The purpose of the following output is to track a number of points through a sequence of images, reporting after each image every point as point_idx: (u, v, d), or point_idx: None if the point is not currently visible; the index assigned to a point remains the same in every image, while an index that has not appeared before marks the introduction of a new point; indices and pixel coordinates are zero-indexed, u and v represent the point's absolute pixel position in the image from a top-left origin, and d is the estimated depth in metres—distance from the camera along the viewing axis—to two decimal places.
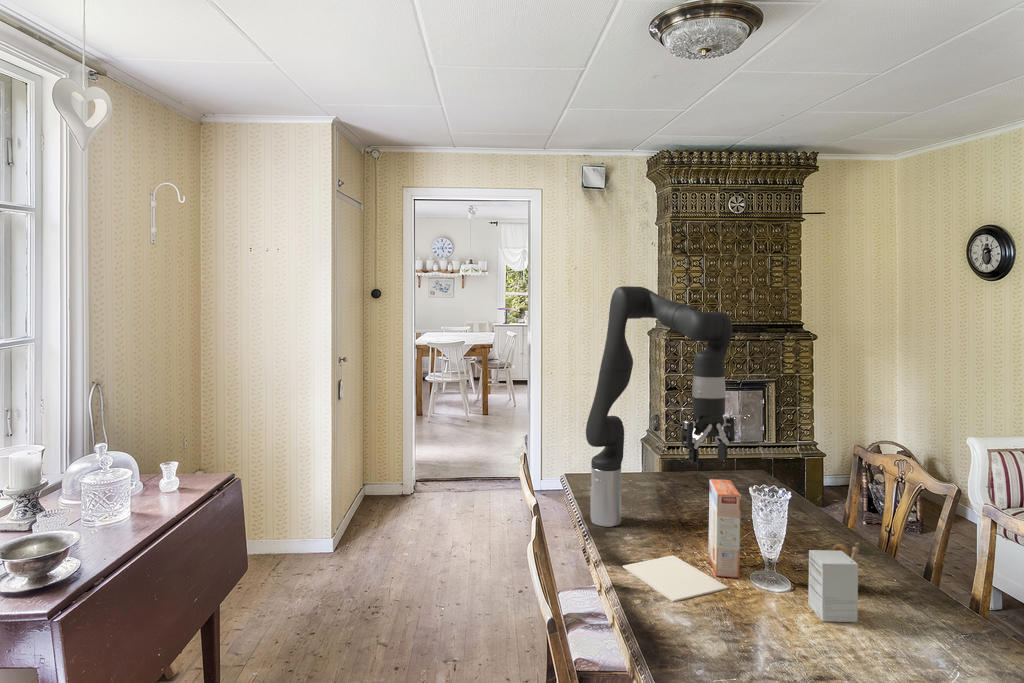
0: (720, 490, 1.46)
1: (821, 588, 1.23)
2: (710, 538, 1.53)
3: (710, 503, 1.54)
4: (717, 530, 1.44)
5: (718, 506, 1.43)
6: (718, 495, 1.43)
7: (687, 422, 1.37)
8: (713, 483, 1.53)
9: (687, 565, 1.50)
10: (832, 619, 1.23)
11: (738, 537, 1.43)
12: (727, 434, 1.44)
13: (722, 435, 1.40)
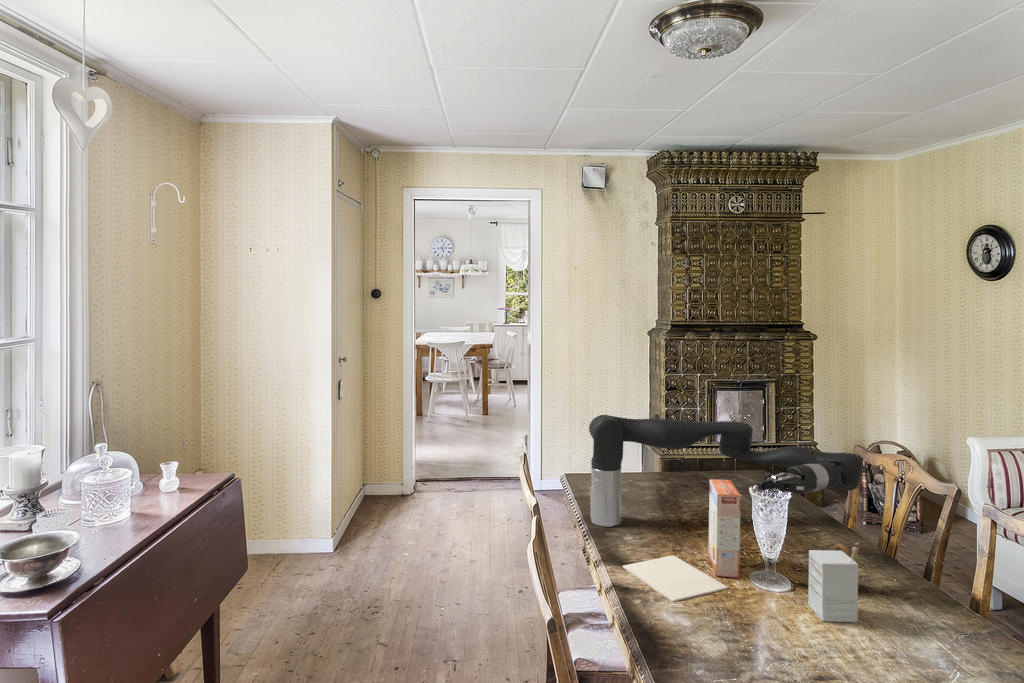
0: (721, 490, 1.46)
1: (821, 588, 1.23)
2: (710, 538, 1.53)
3: (710, 503, 1.54)
4: (717, 530, 1.44)
5: (718, 506, 1.43)
6: (718, 495, 1.43)
7: (803, 489, 1.52)
8: (713, 483, 1.53)
9: (687, 565, 1.50)
10: (832, 619, 1.23)
11: (738, 537, 1.43)
12: None
13: None
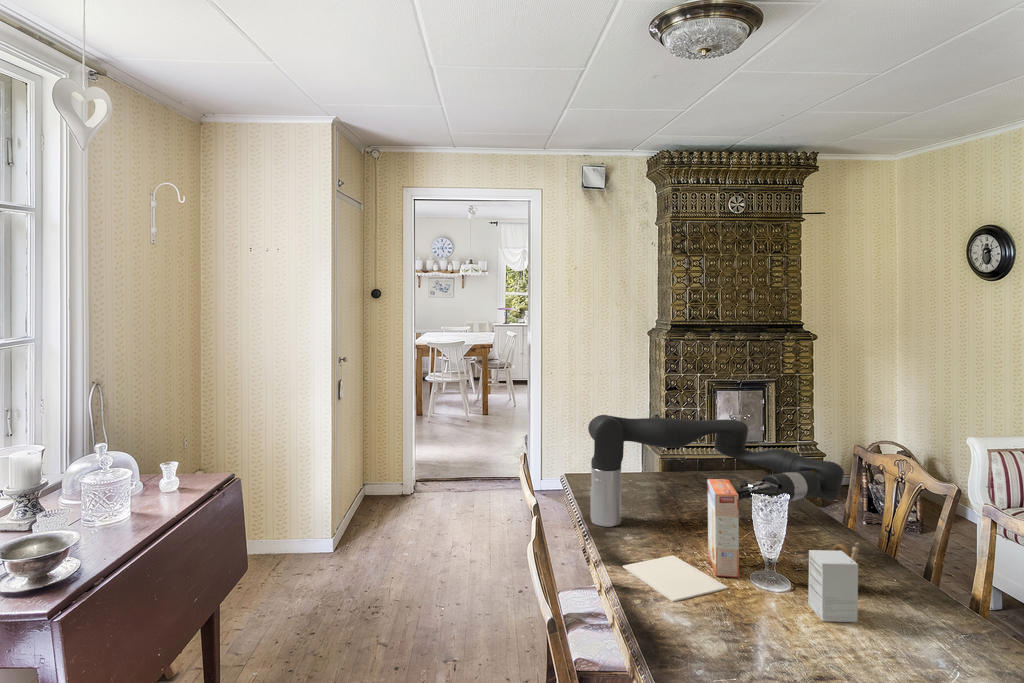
0: (718, 490, 1.46)
1: (821, 588, 1.23)
2: (709, 538, 1.53)
3: None
4: (716, 530, 1.44)
5: (716, 506, 1.44)
6: (716, 495, 1.43)
7: None
8: (711, 483, 1.53)
9: (687, 565, 1.50)
10: (832, 619, 1.23)
11: (737, 536, 1.43)
12: None
13: None
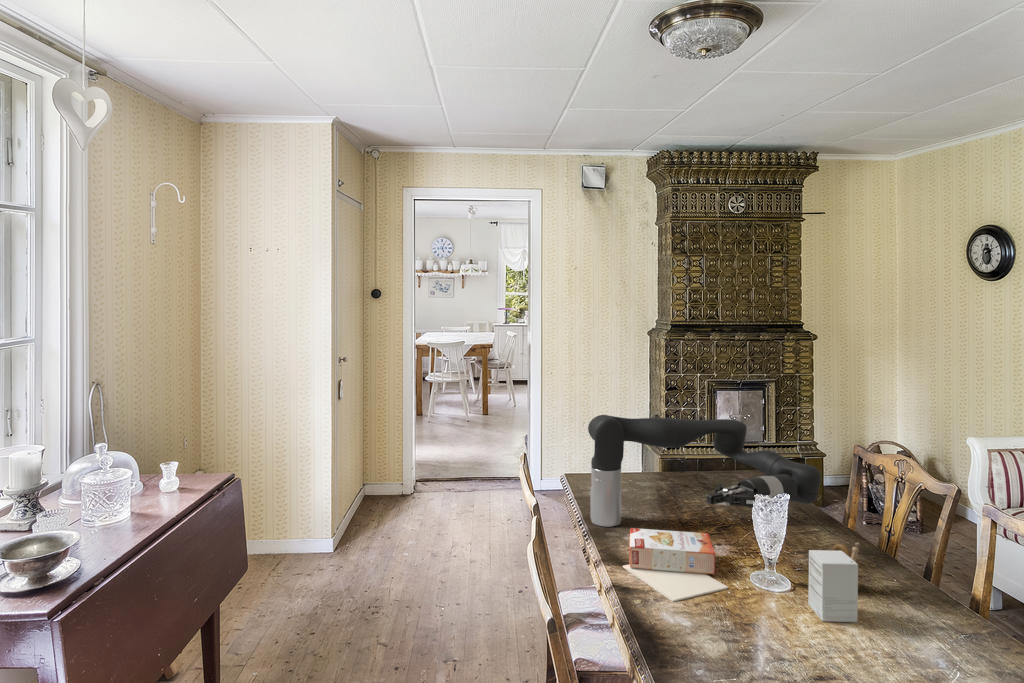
0: None
1: (821, 588, 1.23)
2: None
3: None
4: (666, 569, 1.46)
5: (642, 567, 1.48)
6: (631, 566, 1.48)
7: None
8: None
9: None
10: (832, 619, 1.23)
11: (672, 551, 1.46)
12: None
13: None
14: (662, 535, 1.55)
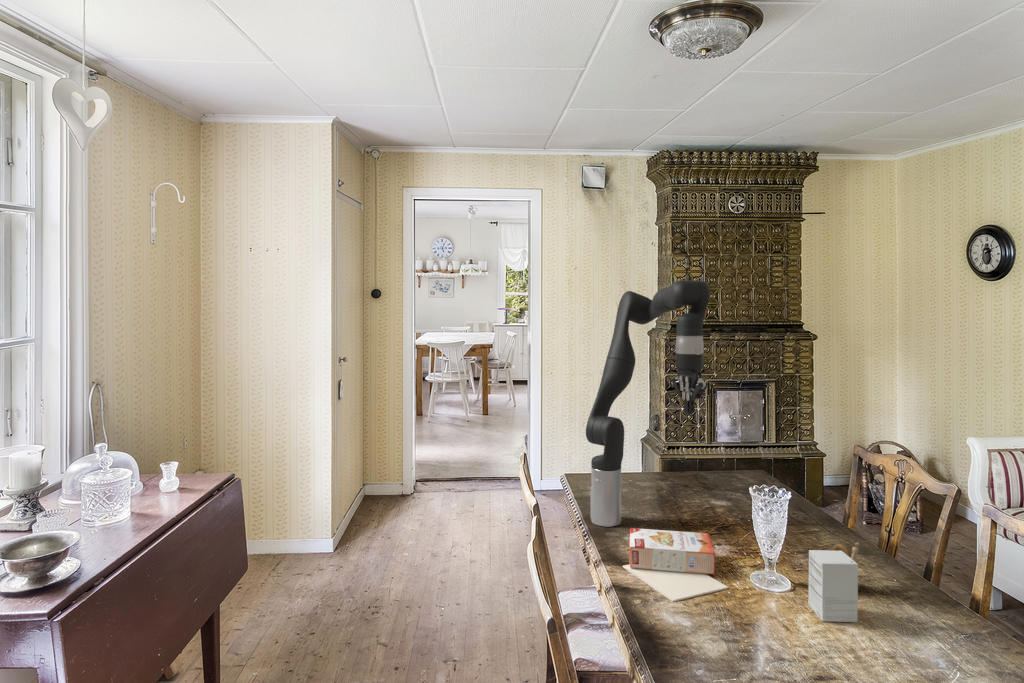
0: None
1: (821, 588, 1.23)
2: None
3: None
4: (666, 569, 1.46)
5: (642, 567, 1.48)
6: (631, 566, 1.48)
7: (705, 384, 1.58)
8: None
9: None
10: (832, 619, 1.23)
11: (672, 551, 1.46)
12: None
13: None
14: (662, 535, 1.55)
